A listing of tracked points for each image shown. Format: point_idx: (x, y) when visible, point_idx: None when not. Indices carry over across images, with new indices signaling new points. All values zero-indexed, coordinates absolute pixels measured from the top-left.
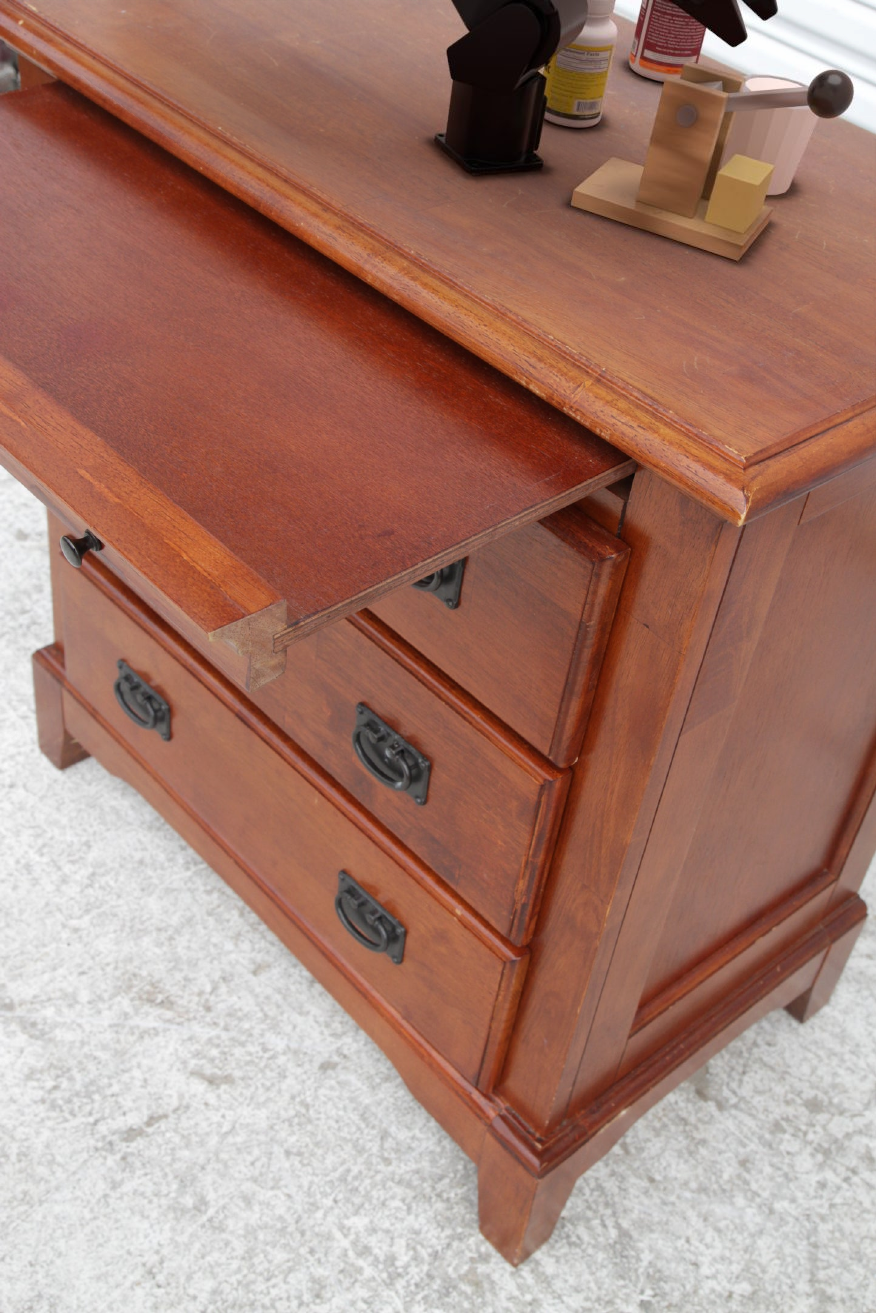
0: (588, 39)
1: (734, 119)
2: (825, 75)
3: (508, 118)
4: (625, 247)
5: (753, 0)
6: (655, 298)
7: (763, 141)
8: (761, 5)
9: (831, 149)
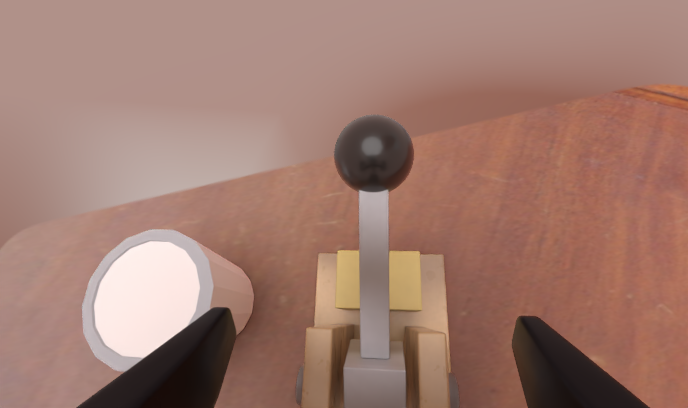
0: None
1: (322, 325)
2: (392, 154)
3: None
4: (511, 384)
5: (209, 386)
6: (604, 308)
7: (232, 293)
8: (219, 356)
9: (77, 249)
